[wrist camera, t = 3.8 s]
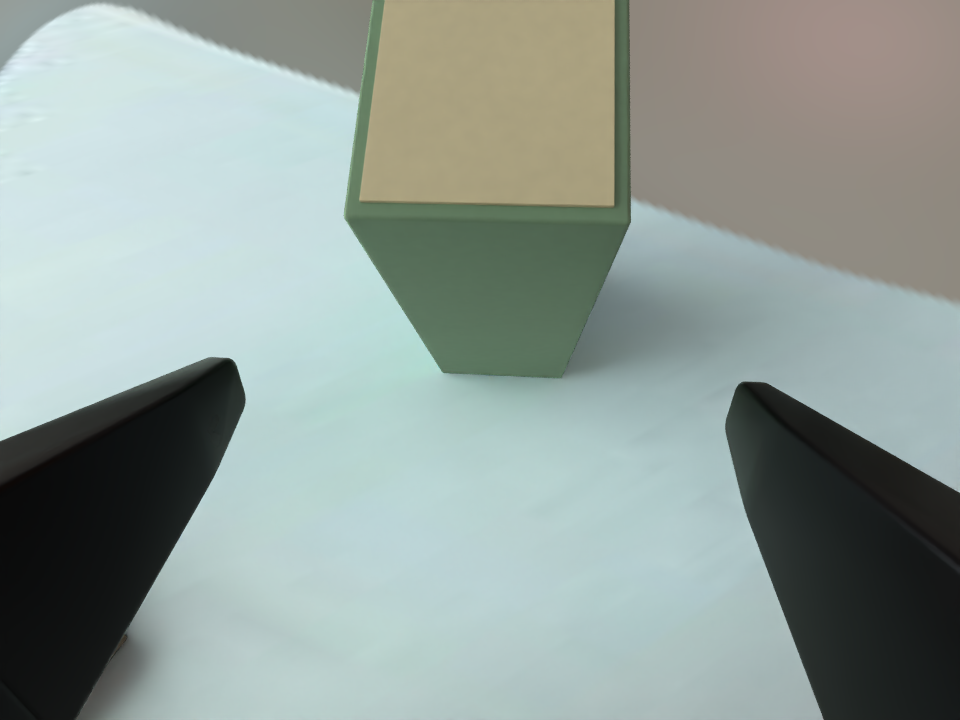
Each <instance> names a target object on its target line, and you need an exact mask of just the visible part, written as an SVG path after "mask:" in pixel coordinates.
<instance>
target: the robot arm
mask: <svg viewBox="0 0 960 720" xmlns="http://www.w3.org/2000/svg"><path fill="white" fill-rule="evenodd" d="M245 400H246V399H245V392H244V389H243V386H242V382H241V379H240V375H239V372H238V369H237V366H236V363H235V362H234V361H233V360H232V359H230V358H217V357H210V358H206V359H203V360H201V361H198V362H196V363H194V364H191V365H189V366H186V367H184V368H181V369H179V370H176V371H174V372H171V373H169V374H166V375H164V376H161V377H159V378H156V379H154V380H151V381H149V382H146V383H144V384H141V385H139V386H136V387H134V388H131V389H129V390H126V391H124V392H122V393H119V394H117V395H114V396H112V397H109V398H107V399H104V400H102V401H99V402H97V403H94V404H92V405H89V406H87V407H84V408H82V409H79V410H77V411H74V412H72V413H69V414H67V415H64V416H62V417H59V418H57V419H54V420H52V421H50V422H47V423H45V424H42V425H40V426H37V427H35V428H32V429H30V430H27V431H25V432H22V433H20V434H17V435H15V436H12V437H10V438H7V439H5V440H2V441H0V720H76V718H77V716H78V715H79V713H80V711H81V709H82V708H83V706H84V704H85V702H86V701H87V699H88V697H89V695H90V694H91V692H92V690H93V688H94V687H95V685H96V683H97V681H98V680H99V678H100V676H101V674H102V673H103V671H104V669H105V667H106V666H107V664H108V662H109V660H110V659H111V657H112V655H113V653H114V651H115V650H116V648H117V646H118V644H119V643H120V641H121V639H122V637H123V636H124V634H125V632H126V630H127V629H128V627H129V625H130V623H131V622H132V620H133V618H134V616H135V615H136V613H137V611H138V609H139V608H140V606H141V604H142V602H143V601H144V599H145V597H146V595H147V594H148V592H149V590H150V588H151V587H152V585H153V583H154V581H155V580H156V578H157V576H158V574H159V573H160V571H161V569H162V567H163V566H164V564H165V562H166V560H167V559H168V557H169V555H170V553H171V552H172V550H173V548H174V546H175V545H176V543H177V541H178V539H179V538H180V536H181V534H182V532H183V531H184V529H185V527H186V525H187V524H188V522H189V520H190V518H191V517H192V515H193V513H194V511H195V510H196V508H197V506H198V504H199V503H200V501H201V499H202V497H203V496H204V494H205V492H206V490H207V489H208V487H209V485H210V483H211V481H212V479H213V477H214V475H215V473H216V471H217V469H218V467H219V465H220V463H221V460H222V458H223V456H224V453H225V451H226V449H227V447H228V444H229V442H230V440H231V437H232V435H233V433H234V430H235V428H236V426H237V423H238V421H239V419H240V416H241V414H242V412H243V410H244V407H245ZM725 430H726V436H727V440H728V444H729V448H730V452H731V456H732V461H733V465H734V469H735V473H736V477H737V481H738V485H739V489H740V494H741V498H742V501H743V505H744V508H745V511H746V514H747V517H748V520H749V523H750V525H751V528H752V531H753V533H754V536H755V539H756V541H757V544H758V547H759V549H760V552H761V555H762V557H763V560H764V563H765V565H766V568H767V570H768V573H769V576H770V578H771V581H772V584H773V586H774V589H775V592H776V594H777V597H778V600H779V602H780V605H781V608H782V610H783V613H784V615H785V618H786V621H787V623H788V626H789V629H790V631H791V634H792V637H793V639H794V642H795V645H796V647H797V650H798V653H799V655H800V658H801V660H802V663H803V666H804V668H805V671H806V674H807V676H808V679H809V682H810V684H811V687H812V690H813V692H814V695H815V698H816V700H817V703H818V706H819V708H820V711H821V713H822V716H823V719H824V720H960V493H959V492H957V491H955V490H954V489H952V488H950V487H948V486H947V485H945V484H943V483H941V482H940V481H938V480H936V479H934V478H932V477H931V476H929V475H927V474H925V473H924V472H922V471H920V470H918V469H917V468H915V467H913V466H911V465H910V464H908V463H906V462H904V461H903V460H901V459H899V458H897V457H896V456H894V455H892V454H890V453H889V452H887V451H885V450H883V449H882V448H880V447H878V446H876V445H875V444H873V443H871V442H869V441H868V440H866V439H864V438H862V437H861V436H859V435H857V434H855V433H854V432H852V431H850V430H848V429H846V428H845V427H843V426H841V425H839V424H838V423H836V422H834V421H832V420H831V419H829V418H827V417H825V416H824V415H822V414H820V413H818V412H817V411H815V410H813V409H811V408H810V407H808V406H806V405H804V404H803V403H801V402H799V401H797V400H796V399H794V398H792V397H790V396H789V395H787V394H785V393H783V392H782V391H780V390H778V389H776V388H775V387H773V386H771V385H769V384H767V383H764V382H741V383H740V384H738V386H737V388H736V390H735V393H734V396H733V399H732V402H731V406H730V409H729V412H728V415H727V418H726V424H725Z"/></svg>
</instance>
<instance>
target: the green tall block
mask: <svg viewBox="0 0 960 720" xmlns="http://www.w3.org/2000/svg"><path fill="white" fill-rule="evenodd" d="M629 42H630V40H629V0H373V2H372V9H371V17H370V24H369V31H368V39H367V46H366V53H365V61H364V69H363V77H362V84H361V91H360V98H359V105H358V113H357V120H356V128H355V135H354V143H353V150H352V157H351V165H350V172H349V180H348V187H347V195H346V202H345V210H344V218H345V220H346V221H347V223H348V225H349V226H350V228H351V229H352V231H353V232H354V234H355V236H356V237H357V239H358V240H359V242H360V243H361V245H362V247H363V248H364V250H365V251H366V253H367V255H368V256H369V258H370V259H371V261H372V262H373V264H374V266H375V267H376V269H377V270H378V272H379V273H380V275H381V277H382V278H383V280H384V281H385V283H386V284H387V286H388V288H389V289H390V291H391V292H392V294H393V295H394V297H395V299H396V300H397V302H398V303H399V305H400V306H401V308H402V310H403V311H404V313H405V314H406V316H407V318H408V319H409V321H410V322H411V324H412V325H413V327H414V329H415V330H416V332H417V333H418V335H419V336H420V338H421V340H422V341H423V343H424V344H425V346H426V347H427V349H428V351H429V352H430V354H431V355H432V357H433V358H434V360H435V362H436V363H437V365H438V366H439V368H440V369H441V371H442V372H443V373H459V374H480V375H501V376H523V377H544V378H562V376H563V374H564V371H565V369H566V367H567V365H568V362H569V360H570V358H571V356H572V353H573V351H574V349H575V347H576V344H577V342H578V340H579V338H580V335H581V333H582V331H583V329H584V326H585V324H586V322H587V320H588V317H589V315H590V313H591V311H592V308H593V306H594V304H595V302H596V299H597V297H598V295H599V293H600V290H601V288H602V286H603V284H604V281H605V279H606V277H607V275H608V272H609V270H610V268H611V266H612V263H613V261H614V259H615V257H616V254H617V252H618V250H619V248H620V245H621V243H622V241H623V239H624V236H625V234H626V232H627V230H628V227H629V225H630V223H631V191H630V188H631V186H630V52H629V51H630V49H629V48H630V43H629Z"/></svg>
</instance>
